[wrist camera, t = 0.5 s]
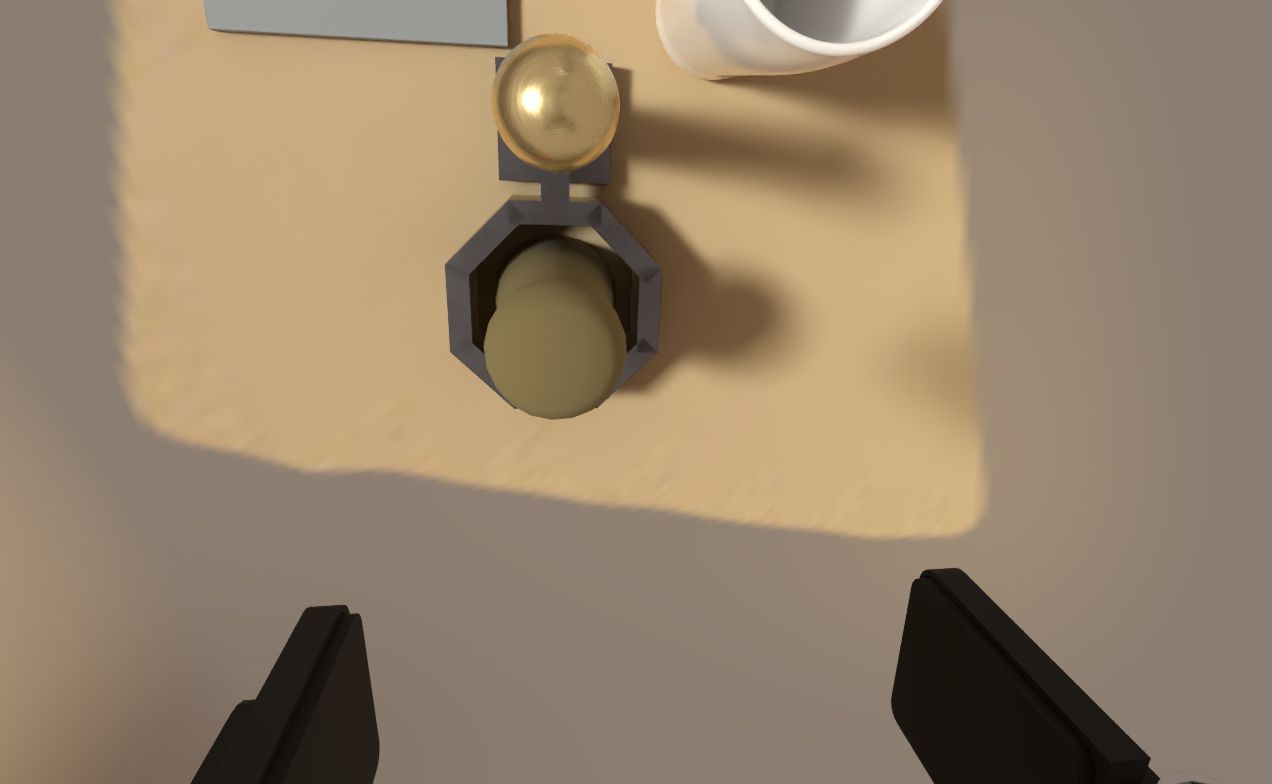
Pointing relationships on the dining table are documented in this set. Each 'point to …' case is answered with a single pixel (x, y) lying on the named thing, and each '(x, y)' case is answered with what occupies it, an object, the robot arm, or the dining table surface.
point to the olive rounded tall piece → (555, 329)
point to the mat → (368, 19)
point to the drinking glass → (780, 33)
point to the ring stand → (553, 183)
